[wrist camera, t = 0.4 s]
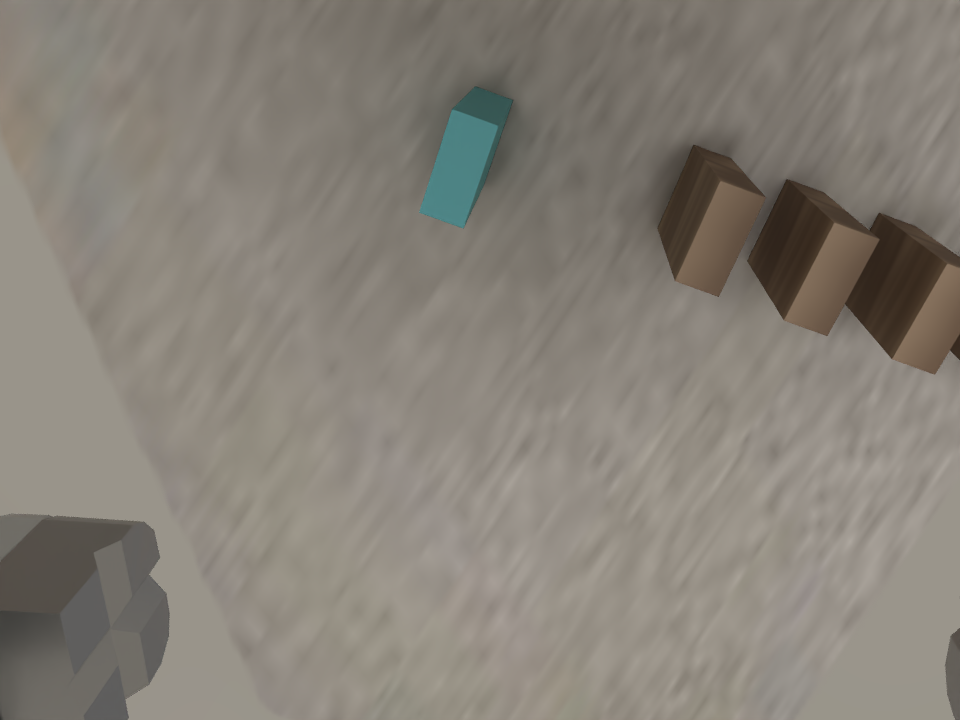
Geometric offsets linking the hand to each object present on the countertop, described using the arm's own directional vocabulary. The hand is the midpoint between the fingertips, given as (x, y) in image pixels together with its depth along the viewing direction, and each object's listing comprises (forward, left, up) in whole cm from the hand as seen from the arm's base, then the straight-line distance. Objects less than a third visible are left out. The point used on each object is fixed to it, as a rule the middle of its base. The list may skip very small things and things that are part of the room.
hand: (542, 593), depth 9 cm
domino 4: (+12, +16, -44) cm, 48 cm away
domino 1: (+1, -5, -44) cm, 44 cm away
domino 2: (+6, +6, -44) cm, 44 cm away
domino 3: (+9, +11, -44) cm, 46 cm away
